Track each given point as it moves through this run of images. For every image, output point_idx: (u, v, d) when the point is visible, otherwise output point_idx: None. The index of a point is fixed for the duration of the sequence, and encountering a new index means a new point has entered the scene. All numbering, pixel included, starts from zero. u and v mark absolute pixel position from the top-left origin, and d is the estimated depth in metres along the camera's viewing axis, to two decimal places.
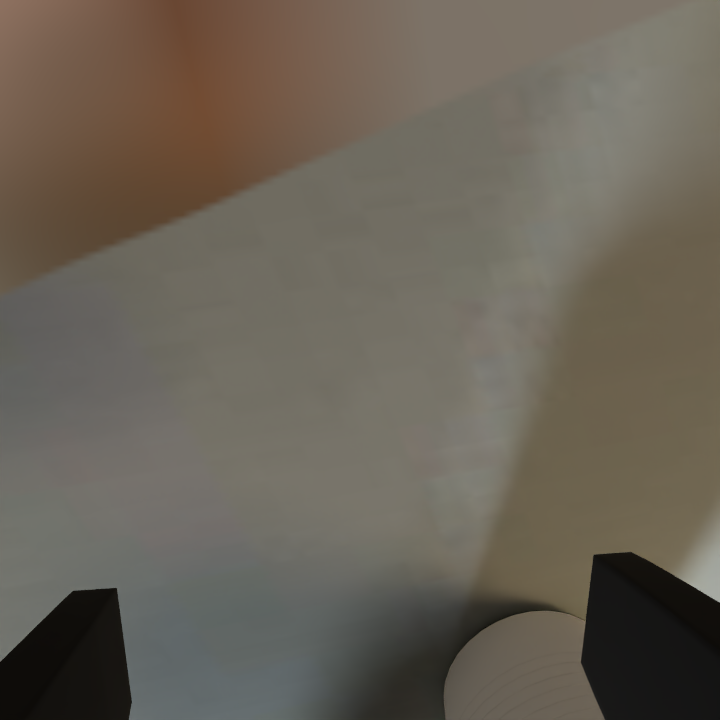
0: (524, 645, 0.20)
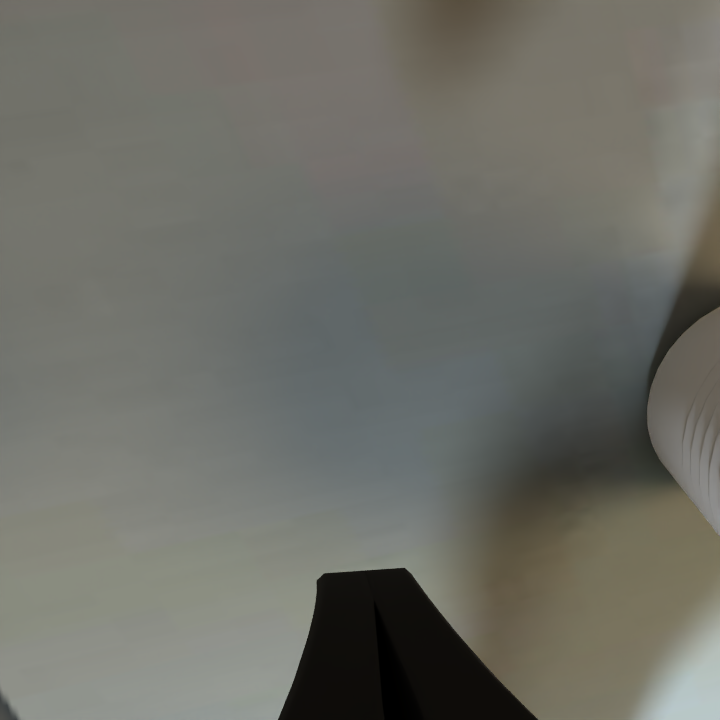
0: None
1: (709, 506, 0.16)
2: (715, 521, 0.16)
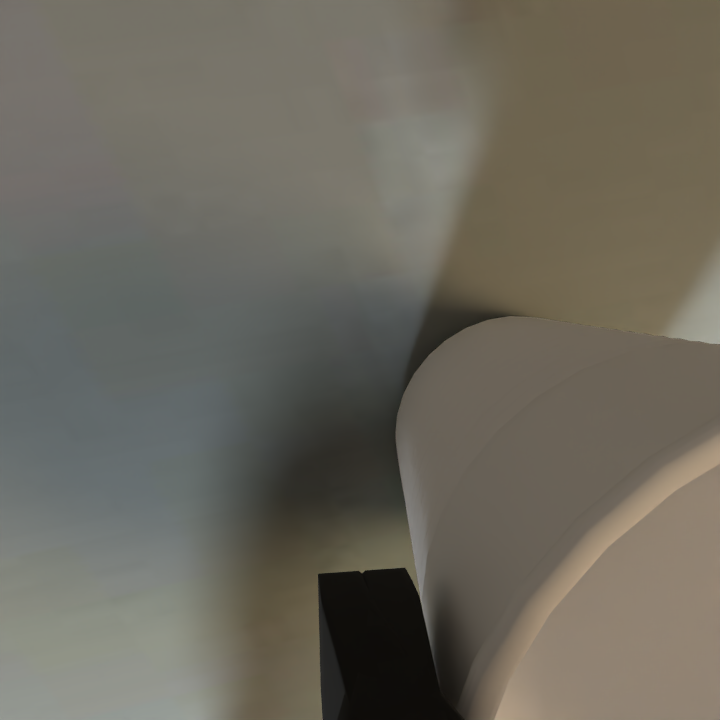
0: (503, 327, 0.15)
1: None
2: None
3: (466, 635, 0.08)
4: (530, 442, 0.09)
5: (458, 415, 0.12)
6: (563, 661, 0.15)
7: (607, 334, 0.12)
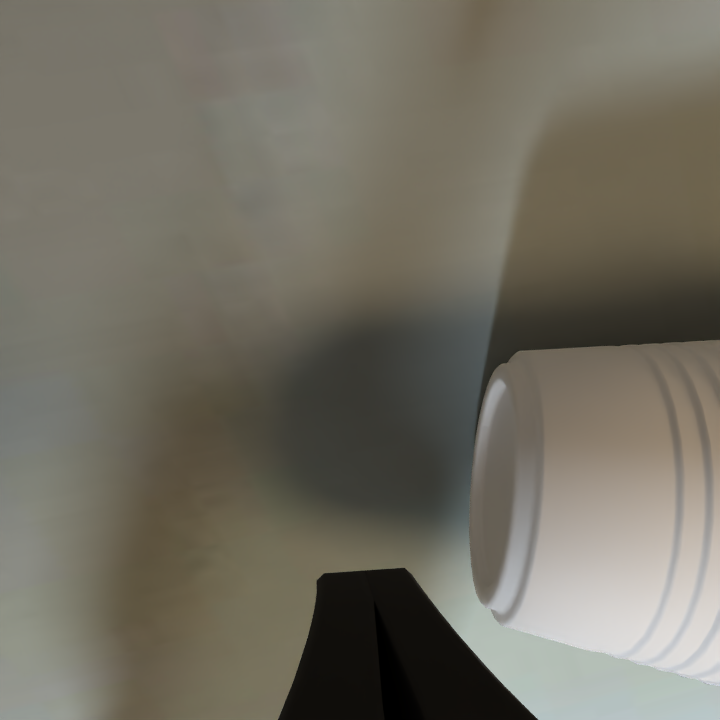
0: (627, 389, 0.13)
1: (711, 663, 0.12)
2: None
3: None
4: None
5: None
6: None
7: None
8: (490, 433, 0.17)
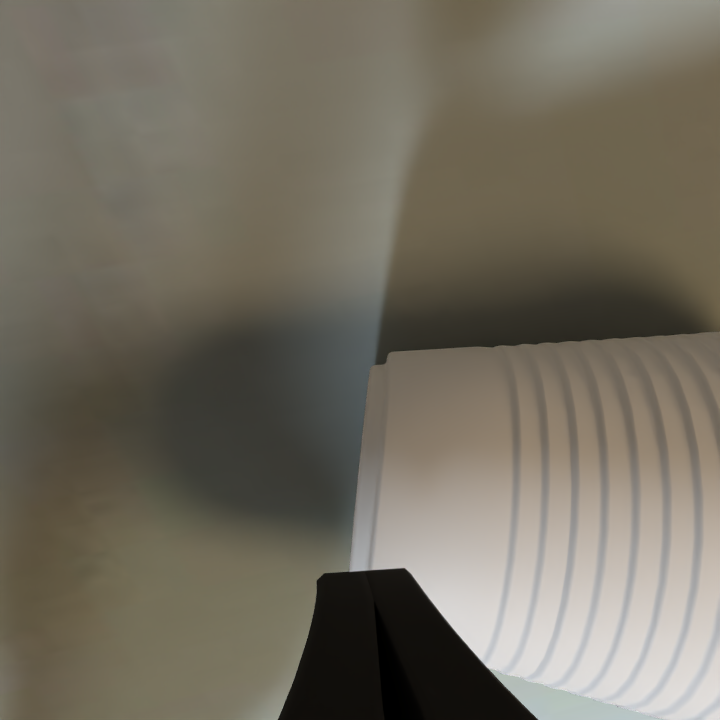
0: (475, 389, 0.12)
1: (560, 672, 0.12)
2: (571, 682, 0.12)
3: None
4: None
5: (666, 512, 0.11)
6: None
7: (645, 360, 0.13)
8: None
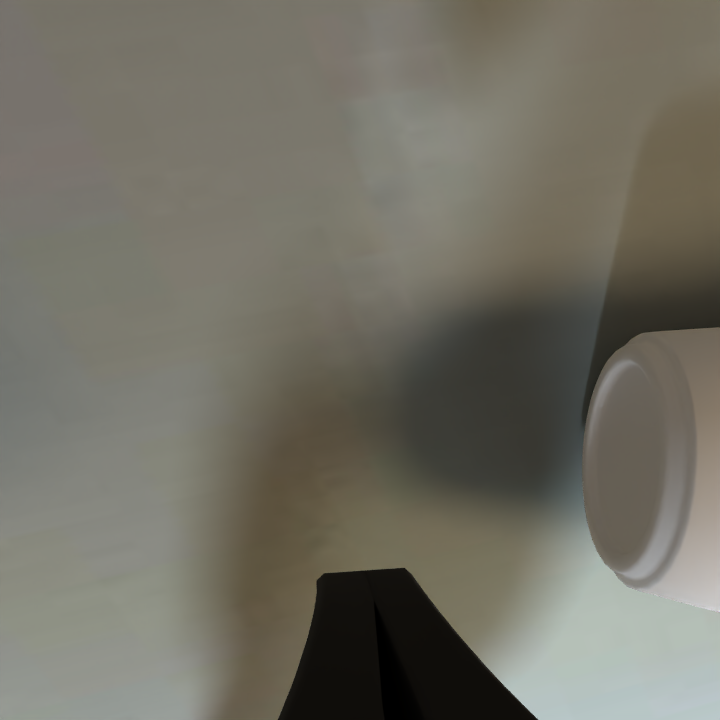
0: None
1: None
2: None
3: None
4: None
5: None
6: None
7: None
8: (604, 413, 0.18)
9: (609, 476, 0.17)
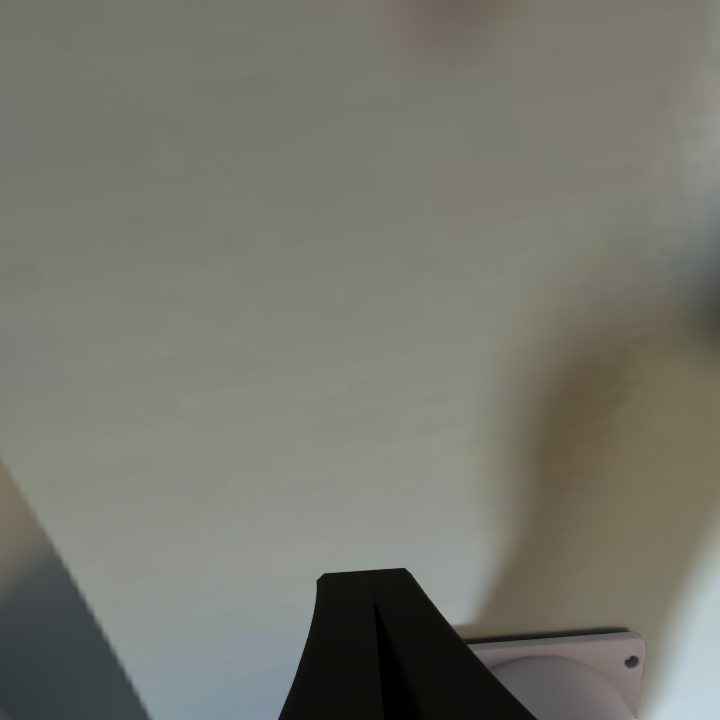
0: None
1: None
2: None
3: None
4: None
5: None
6: None
7: None
8: None
9: None
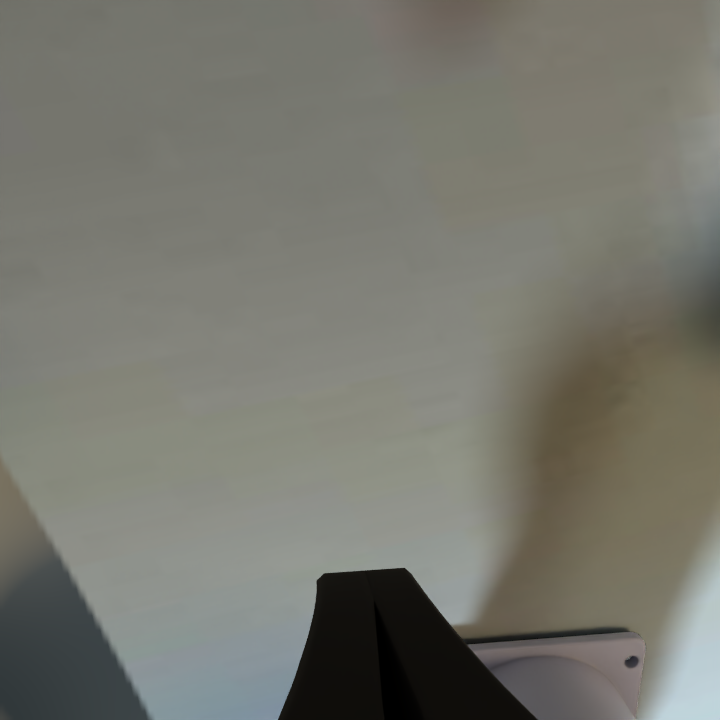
0: None
1: None
2: None
3: None
4: None
5: None
6: None
7: None
8: None
9: None
